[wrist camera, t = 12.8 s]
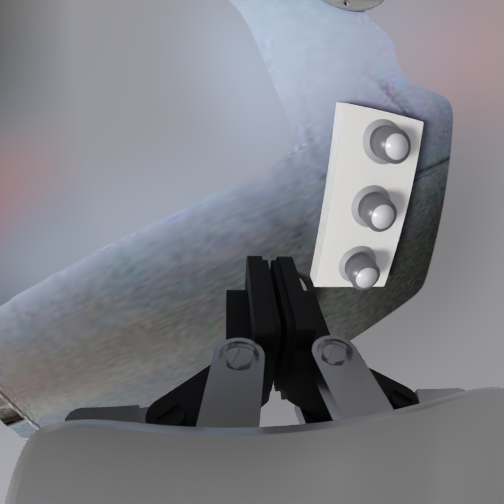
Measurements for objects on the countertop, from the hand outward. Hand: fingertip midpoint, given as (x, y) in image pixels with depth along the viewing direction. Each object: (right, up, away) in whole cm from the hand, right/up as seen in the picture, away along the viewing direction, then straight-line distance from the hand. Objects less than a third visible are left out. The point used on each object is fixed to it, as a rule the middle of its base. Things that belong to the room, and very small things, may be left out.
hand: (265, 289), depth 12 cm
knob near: (+16, +15, +22) cm, 31 cm away
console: (+15, +9, +29) cm, 34 cm away
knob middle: (+16, +7, +26) cm, 31 cm away
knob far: (+15, -1, +30) cm, 34 cm away
